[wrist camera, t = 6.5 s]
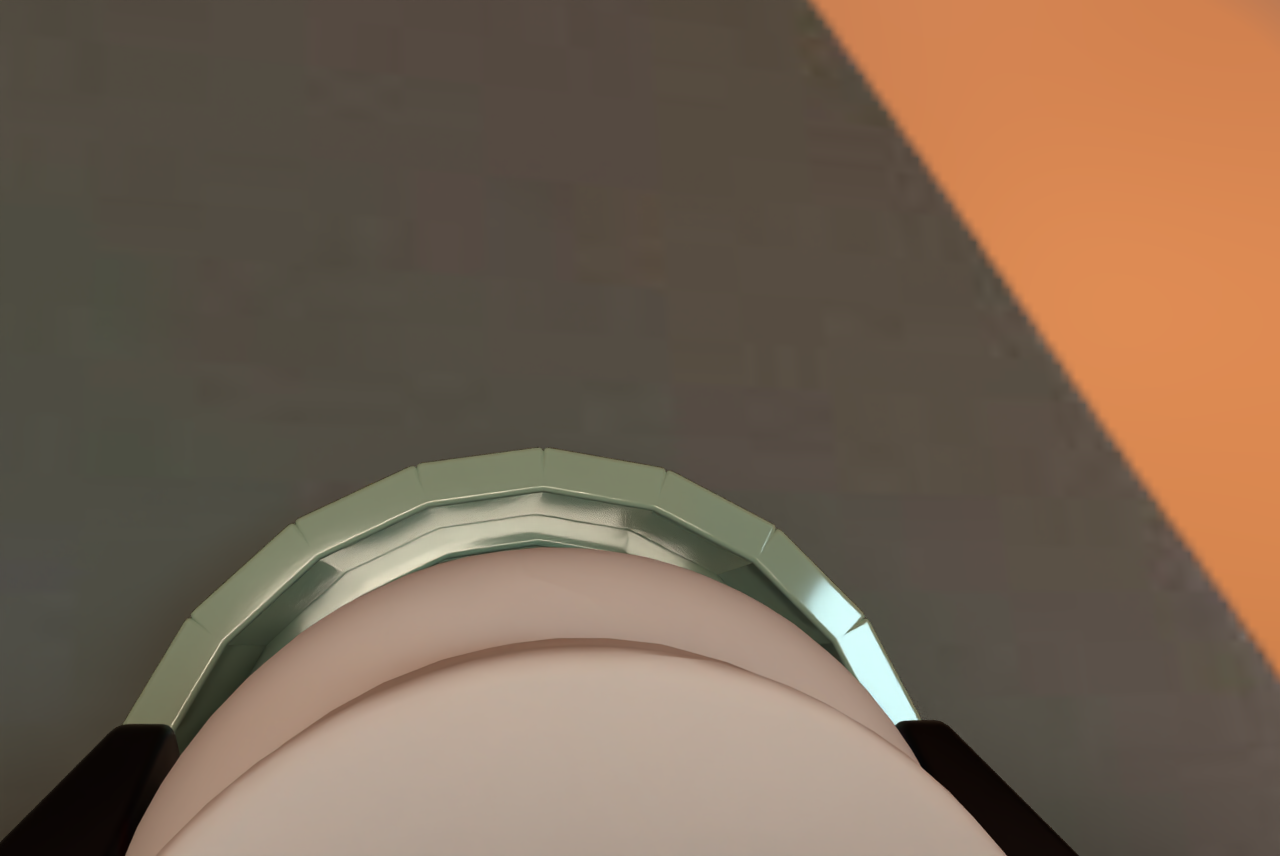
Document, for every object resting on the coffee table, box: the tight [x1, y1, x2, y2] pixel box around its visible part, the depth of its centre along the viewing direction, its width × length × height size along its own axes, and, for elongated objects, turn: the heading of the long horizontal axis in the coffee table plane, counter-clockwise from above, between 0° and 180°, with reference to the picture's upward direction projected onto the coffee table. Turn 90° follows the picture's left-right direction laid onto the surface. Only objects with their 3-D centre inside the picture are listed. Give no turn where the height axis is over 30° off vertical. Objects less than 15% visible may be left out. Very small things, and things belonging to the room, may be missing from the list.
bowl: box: [122, 447, 922, 755], centre depth 13 cm, size 9×9×4 cm
